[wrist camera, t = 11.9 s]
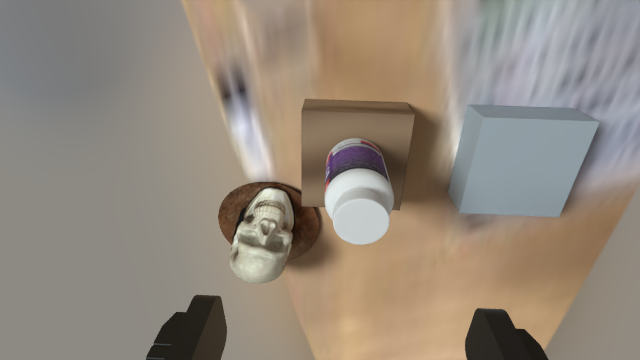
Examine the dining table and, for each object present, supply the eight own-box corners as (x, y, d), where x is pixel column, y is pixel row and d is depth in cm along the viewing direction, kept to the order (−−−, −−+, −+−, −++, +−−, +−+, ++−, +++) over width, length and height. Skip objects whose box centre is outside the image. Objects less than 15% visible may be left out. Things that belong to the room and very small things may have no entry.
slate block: (468, 104, 33) (483, 117, 30) (571, 108, 33) (600, 121, 30) (447, 192, 38) (459, 212, 35) (538, 196, 38) (559, 217, 34)
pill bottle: (316, 150, 32) (310, 206, 23) (370, 127, 31) (384, 177, 22) (339, 195, 34) (341, 261, 26) (391, 176, 33) (410, 239, 24)
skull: (221, 164, 37) (271, 225, 31) (294, 163, 44) (346, 211, 38) (197, 248, 42) (236, 314, 36) (266, 234, 49) (308, 287, 43)
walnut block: (305, 99, 34) (301, 110, 30) (406, 102, 34) (414, 114, 30) (304, 187, 39) (301, 206, 35) (393, 190, 38) (399, 210, 35)
